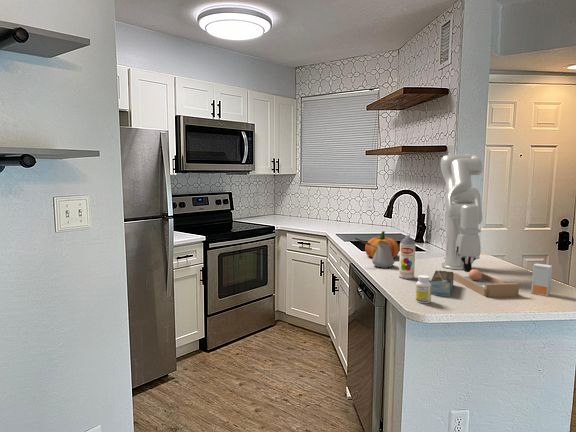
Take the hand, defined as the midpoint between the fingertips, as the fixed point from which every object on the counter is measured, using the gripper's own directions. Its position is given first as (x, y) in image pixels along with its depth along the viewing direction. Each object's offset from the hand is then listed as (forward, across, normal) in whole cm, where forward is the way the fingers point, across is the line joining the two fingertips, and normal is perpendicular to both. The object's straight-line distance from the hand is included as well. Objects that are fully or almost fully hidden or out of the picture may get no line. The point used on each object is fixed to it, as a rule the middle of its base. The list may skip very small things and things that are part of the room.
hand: (467, 271), depth 189 cm
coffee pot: (+3, +35, -29) cm, 46 cm away
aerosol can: (+4, +27, -5) cm, 28 cm away
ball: (0, 0, +6) cm, 6 cm away
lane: (+4, 0, +13) cm, 14 cm away
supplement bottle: (+5, +34, +30) cm, 46 cm away
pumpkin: (+3, +24, -51) cm, 56 cm away
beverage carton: (+5, +19, +15) cm, 25 cm away
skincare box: (+4, -18, +24) cm, 31 cm away
